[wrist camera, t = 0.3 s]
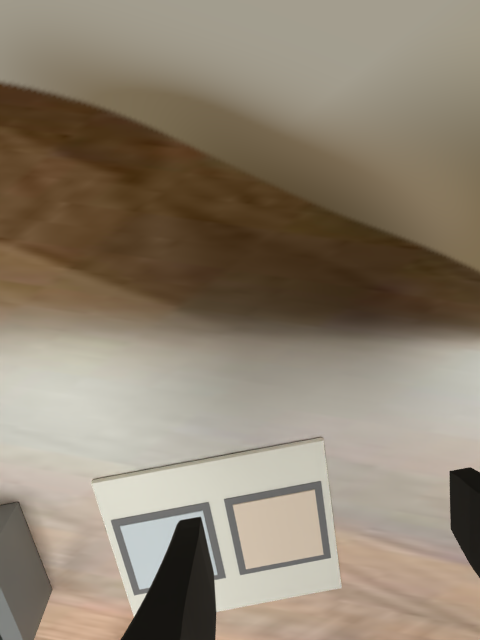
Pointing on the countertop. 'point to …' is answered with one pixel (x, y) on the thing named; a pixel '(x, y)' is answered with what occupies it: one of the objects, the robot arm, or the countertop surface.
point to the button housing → (20, 578)
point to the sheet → (230, 522)
